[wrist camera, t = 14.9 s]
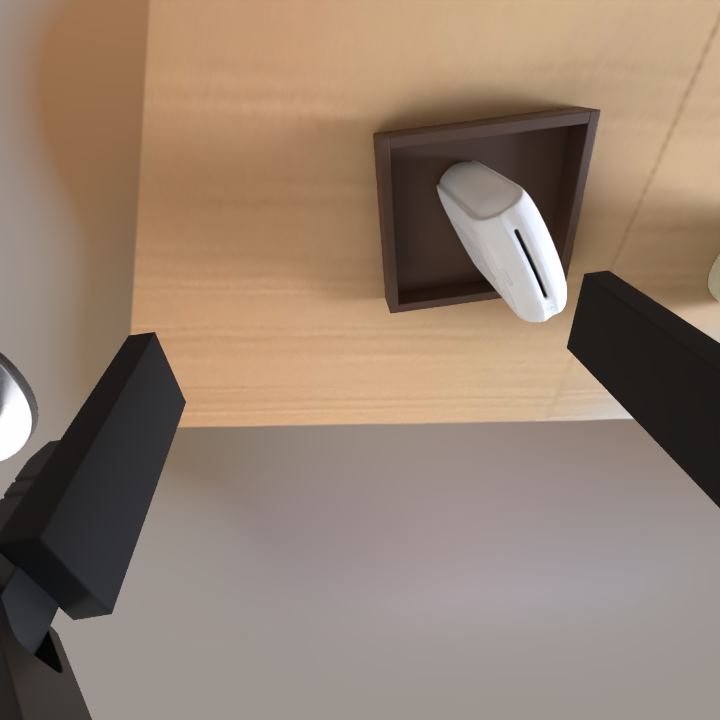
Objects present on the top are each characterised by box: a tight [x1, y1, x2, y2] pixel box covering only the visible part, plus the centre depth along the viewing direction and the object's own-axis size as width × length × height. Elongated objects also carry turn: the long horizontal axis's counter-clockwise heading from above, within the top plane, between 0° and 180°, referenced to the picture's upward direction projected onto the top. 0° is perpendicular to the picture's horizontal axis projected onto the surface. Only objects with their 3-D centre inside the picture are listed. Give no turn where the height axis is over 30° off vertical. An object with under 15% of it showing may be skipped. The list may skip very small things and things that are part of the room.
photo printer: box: [437, 160, 567, 322], centre depth 32 cm, size 10×4×12 cm, turn 34°
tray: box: [373, 107, 600, 313], centre depth 36 cm, size 17×15×3 cm
